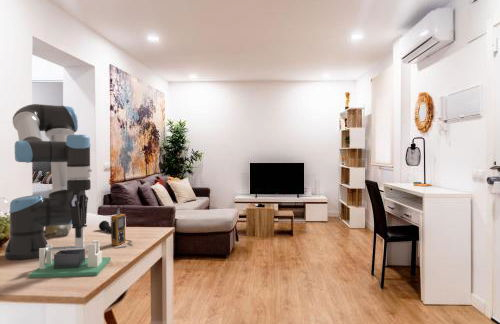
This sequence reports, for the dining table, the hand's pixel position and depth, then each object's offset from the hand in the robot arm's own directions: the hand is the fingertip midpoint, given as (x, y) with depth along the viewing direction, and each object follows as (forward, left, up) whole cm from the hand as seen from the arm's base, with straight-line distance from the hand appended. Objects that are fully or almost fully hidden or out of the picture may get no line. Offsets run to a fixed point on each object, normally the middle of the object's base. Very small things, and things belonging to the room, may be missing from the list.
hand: (79, 246), depth 132 cm
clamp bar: (-4, 0, -2) cm, 4 cm away
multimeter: (+9, +35, -8) cm, 37 cm away
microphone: (-6, +63, -8) cm, 64 cm away
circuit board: (-2, 0, -8) cm, 8 cm away
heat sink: (-3, 0, -7) cm, 7 cm away
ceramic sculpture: (-28, +55, -8) cm, 63 cm away
